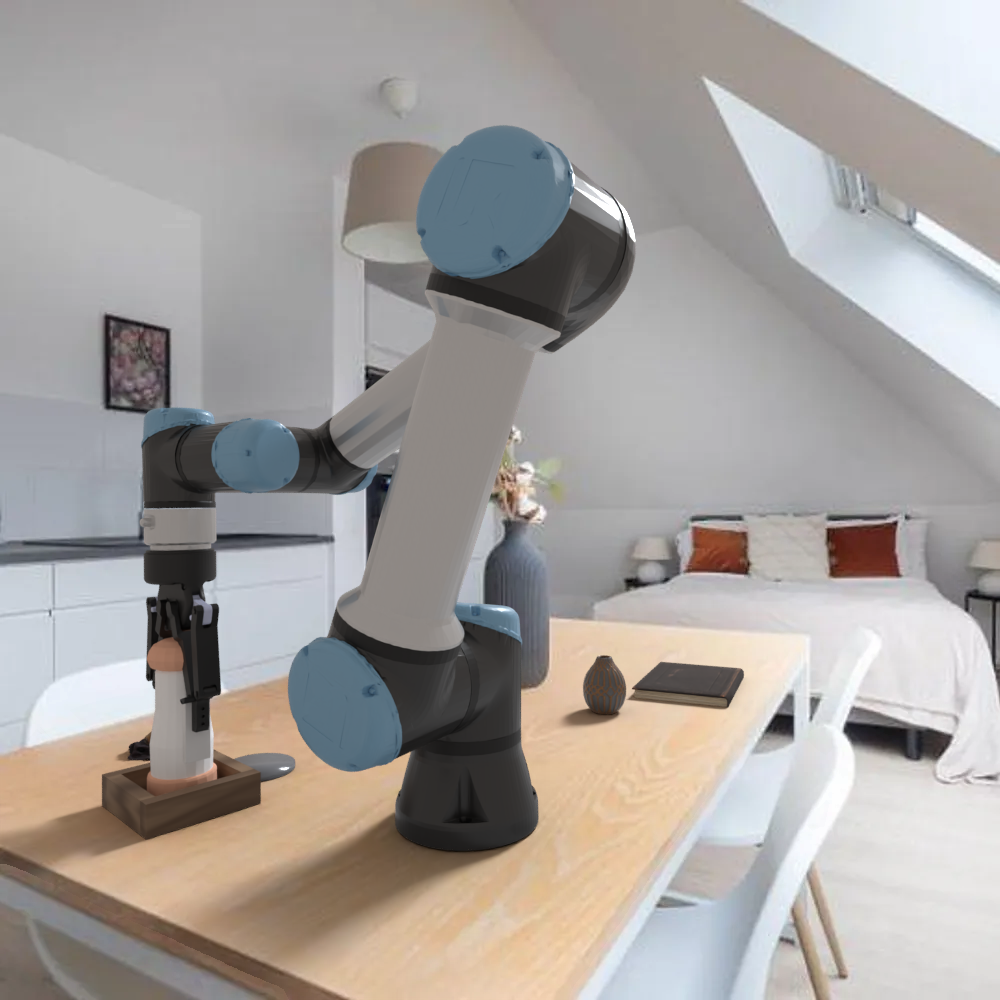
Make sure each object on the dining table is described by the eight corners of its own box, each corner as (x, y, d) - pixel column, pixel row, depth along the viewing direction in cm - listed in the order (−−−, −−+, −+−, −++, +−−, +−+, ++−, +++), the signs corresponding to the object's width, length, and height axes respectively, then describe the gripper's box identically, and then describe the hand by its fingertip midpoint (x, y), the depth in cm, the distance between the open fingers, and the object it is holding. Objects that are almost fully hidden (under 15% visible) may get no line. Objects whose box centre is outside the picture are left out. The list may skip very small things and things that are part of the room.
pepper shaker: (139, 817, 80) (137, 637, 80) (156, 792, 87) (154, 626, 87) (211, 811, 81) (209, 634, 81) (222, 787, 88) (220, 624, 89)
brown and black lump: (151, 741, 109) (150, 715, 109) (209, 739, 110) (209, 714, 110) (116, 766, 99) (116, 737, 99) (181, 764, 99) (181, 735, 99)
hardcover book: (632, 700, 129) (631, 687, 129) (660, 673, 150) (660, 661, 150) (728, 710, 123) (728, 696, 123) (744, 680, 144) (744, 668, 144)
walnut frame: (260, 803, 84) (260, 772, 84) (146, 839, 75) (145, 804, 75) (210, 775, 93) (210, 747, 93) (101, 805, 84) (101, 774, 84)
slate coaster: (308, 768, 95) (308, 763, 95) (242, 788, 89) (242, 783, 89) (272, 752, 102) (272, 748, 102) (207, 770, 95) (207, 765, 95)
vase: (634, 710, 121) (634, 656, 121) (610, 719, 116) (609, 662, 116) (599, 703, 126) (599, 650, 126) (574, 711, 121) (574, 657, 121)
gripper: (113, 546, 88) (114, 742, 88) (184, 551, 75) (186, 783, 75) (177, 543, 94) (178, 728, 94) (254, 548, 80) (256, 763, 80)
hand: (182, 752), depth 84 cm, fingers closed on pepper shaker, 7 cm apart
